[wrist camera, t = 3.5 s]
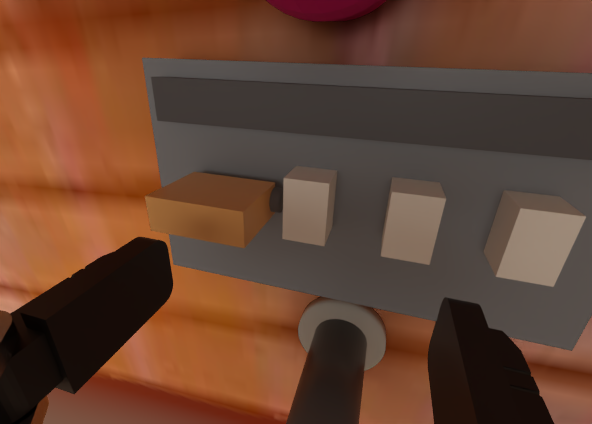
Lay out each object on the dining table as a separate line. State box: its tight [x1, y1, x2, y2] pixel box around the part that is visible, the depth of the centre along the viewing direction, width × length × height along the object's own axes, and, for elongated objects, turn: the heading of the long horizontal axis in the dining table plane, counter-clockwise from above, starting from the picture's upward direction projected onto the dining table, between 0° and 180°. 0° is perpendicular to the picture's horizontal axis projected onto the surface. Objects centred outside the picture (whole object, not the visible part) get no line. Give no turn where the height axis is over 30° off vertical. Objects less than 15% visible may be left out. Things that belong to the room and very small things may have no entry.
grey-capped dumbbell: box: [286, 297, 386, 424], centre depth 17 cm, size 6×6×13 cm
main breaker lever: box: [145, 172, 283, 248], centre depth 14 cm, size 5×2×4 cm, turn 88°
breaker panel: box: [142, 58, 592, 351], centre depth 16 cm, size 22×12×5 cm, turn 88°
